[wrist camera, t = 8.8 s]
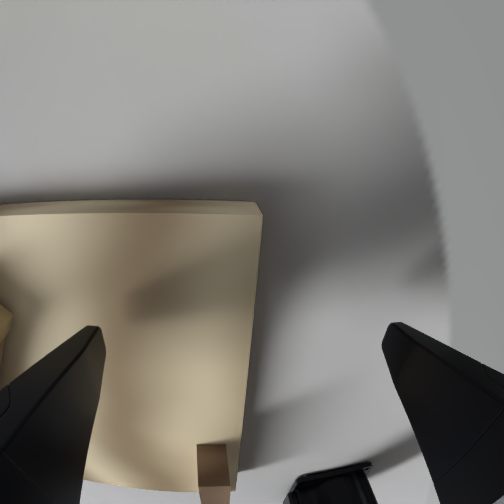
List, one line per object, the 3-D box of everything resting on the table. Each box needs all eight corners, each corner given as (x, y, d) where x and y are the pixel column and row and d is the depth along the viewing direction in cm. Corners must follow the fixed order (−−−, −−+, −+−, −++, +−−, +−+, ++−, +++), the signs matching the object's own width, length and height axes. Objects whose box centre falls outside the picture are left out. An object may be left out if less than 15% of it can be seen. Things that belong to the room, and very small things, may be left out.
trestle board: (255, 202, 10) (296, 274, 5) (233, 473, 17) (241, 534, 12) (-120, 218, 6) (-167, 251, 2) (-26, 427, 13) (-43, 469, 9)
